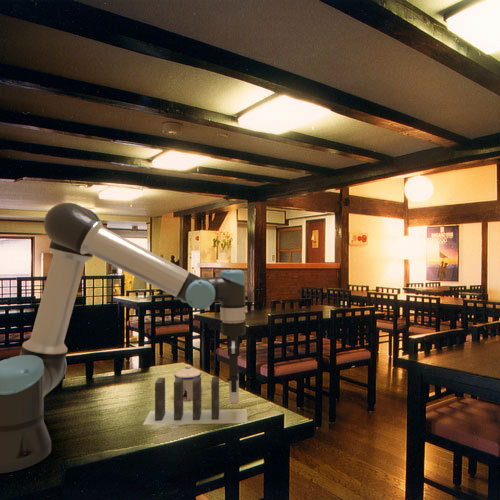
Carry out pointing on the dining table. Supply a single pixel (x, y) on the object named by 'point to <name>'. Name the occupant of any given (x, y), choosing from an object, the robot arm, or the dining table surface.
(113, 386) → the dining table surface
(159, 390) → the domino
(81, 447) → the dining table surface
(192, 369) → the teacup with lid
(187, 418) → the board
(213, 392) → the domino
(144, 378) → the dining table surface
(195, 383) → the domino
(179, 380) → the domino
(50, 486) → the dining table surface
